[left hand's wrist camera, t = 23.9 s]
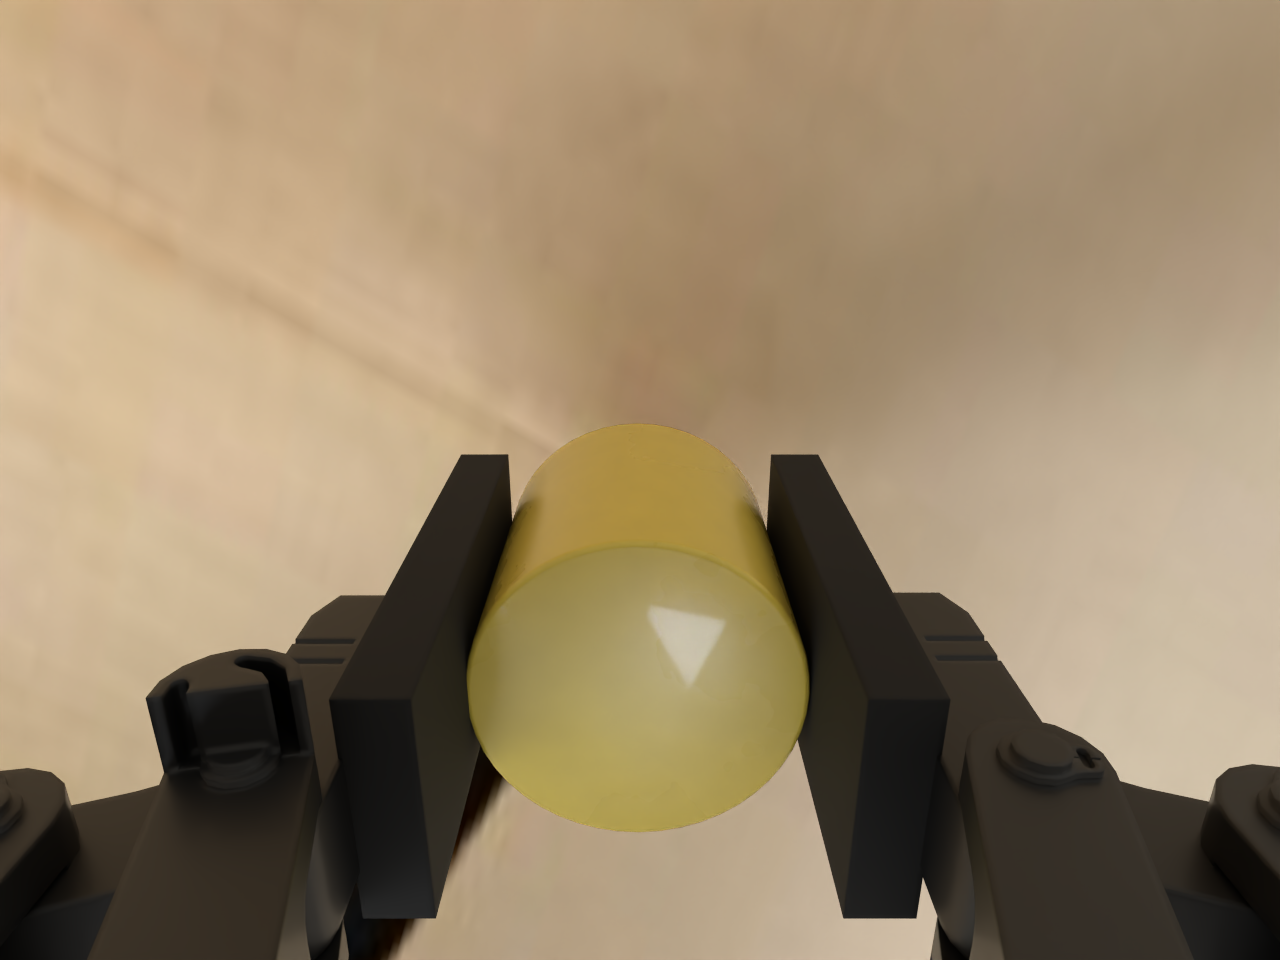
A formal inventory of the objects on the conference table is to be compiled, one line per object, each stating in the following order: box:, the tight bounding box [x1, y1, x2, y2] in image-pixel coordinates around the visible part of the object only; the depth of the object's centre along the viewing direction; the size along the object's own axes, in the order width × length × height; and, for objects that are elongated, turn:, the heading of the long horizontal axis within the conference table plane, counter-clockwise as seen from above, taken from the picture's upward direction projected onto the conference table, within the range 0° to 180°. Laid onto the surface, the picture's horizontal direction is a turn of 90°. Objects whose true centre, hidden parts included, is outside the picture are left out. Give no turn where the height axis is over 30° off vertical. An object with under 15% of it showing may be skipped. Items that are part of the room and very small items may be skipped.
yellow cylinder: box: [467, 424, 810, 832], centre depth 13 cm, size 4×4×4 cm
